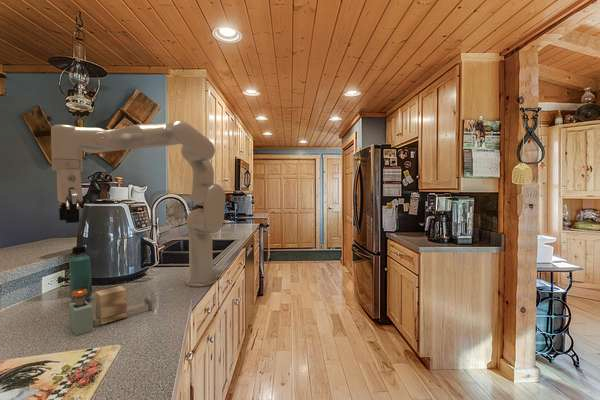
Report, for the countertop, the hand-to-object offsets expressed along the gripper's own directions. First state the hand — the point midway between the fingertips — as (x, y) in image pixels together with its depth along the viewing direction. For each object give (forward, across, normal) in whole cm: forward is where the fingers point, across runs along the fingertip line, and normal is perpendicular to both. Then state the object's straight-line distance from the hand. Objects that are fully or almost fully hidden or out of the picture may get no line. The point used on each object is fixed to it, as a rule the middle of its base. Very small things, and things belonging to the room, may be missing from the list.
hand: (69, 221), depth 94 cm
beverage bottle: (+31, +14, -5) cm, 34 cm away
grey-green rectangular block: (+31, -11, 0) cm, 32 cm away
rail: (+31, -11, -11) cm, 34 cm away
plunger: (+26, -11, 0) cm, 28 cm away
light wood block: (+30, -11, -8) cm, 33 cm away
